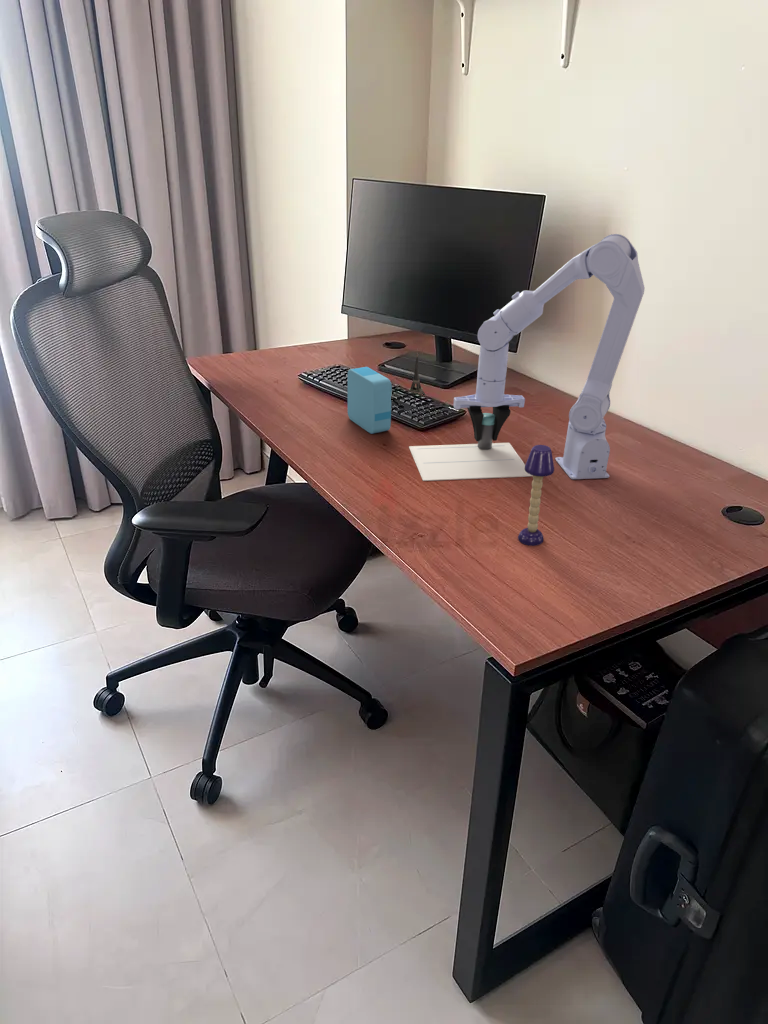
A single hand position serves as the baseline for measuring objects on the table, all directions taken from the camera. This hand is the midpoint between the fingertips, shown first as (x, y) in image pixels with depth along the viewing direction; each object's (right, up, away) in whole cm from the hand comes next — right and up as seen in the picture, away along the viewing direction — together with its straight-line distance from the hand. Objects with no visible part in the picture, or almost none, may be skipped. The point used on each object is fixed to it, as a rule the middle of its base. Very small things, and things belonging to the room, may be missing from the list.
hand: (485, 439), depth 155 cm
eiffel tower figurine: (-14, +12, +26) cm, 32 cm away
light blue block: (-25, +4, +11) cm, 28 cm away
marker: (0, -2, +1) cm, 2 cm away
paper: (-4, -5, -5) cm, 8 cm away
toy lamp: (+3, -20, -31) cm, 37 cm away
